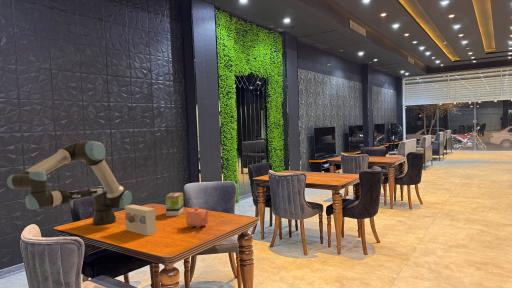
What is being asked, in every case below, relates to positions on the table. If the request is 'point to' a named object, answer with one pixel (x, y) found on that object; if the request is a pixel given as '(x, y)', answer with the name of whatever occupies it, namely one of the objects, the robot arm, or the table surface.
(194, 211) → the teapot
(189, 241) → the table surface
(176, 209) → the tea box
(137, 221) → the button panel
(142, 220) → the dark grey button
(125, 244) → the table surface
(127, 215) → the terracotta button
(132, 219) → the grey button
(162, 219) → the table surface
